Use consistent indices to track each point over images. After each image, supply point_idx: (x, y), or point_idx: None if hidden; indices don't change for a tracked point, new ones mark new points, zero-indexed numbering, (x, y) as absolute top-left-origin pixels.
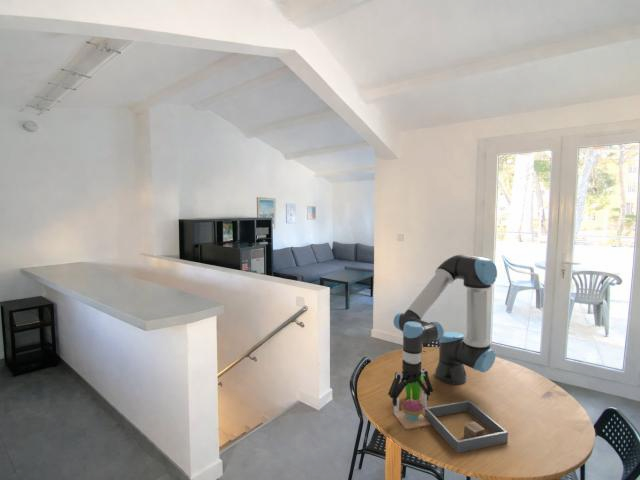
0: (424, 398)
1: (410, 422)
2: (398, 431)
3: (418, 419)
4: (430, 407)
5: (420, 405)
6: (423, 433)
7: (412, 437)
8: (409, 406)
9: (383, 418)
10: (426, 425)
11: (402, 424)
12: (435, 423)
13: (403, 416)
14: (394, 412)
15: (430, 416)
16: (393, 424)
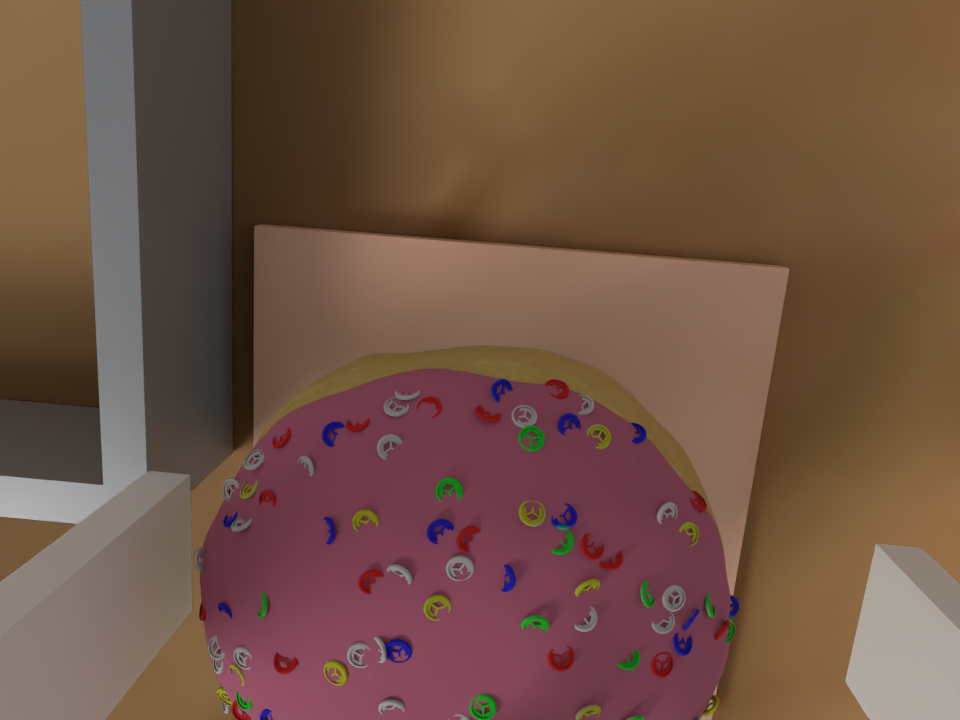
0: (12, 673)
1: None
2: (939, 265)
3: None
4: (17, 502)
5: (280, 521)
6: (529, 52)
7: (804, 18)
8: (632, 580)
9: None
10: (342, 230)
11: (764, 392)
12: (185, 87)
13: None
14: None
15: (172, 291)
16: (893, 464)
